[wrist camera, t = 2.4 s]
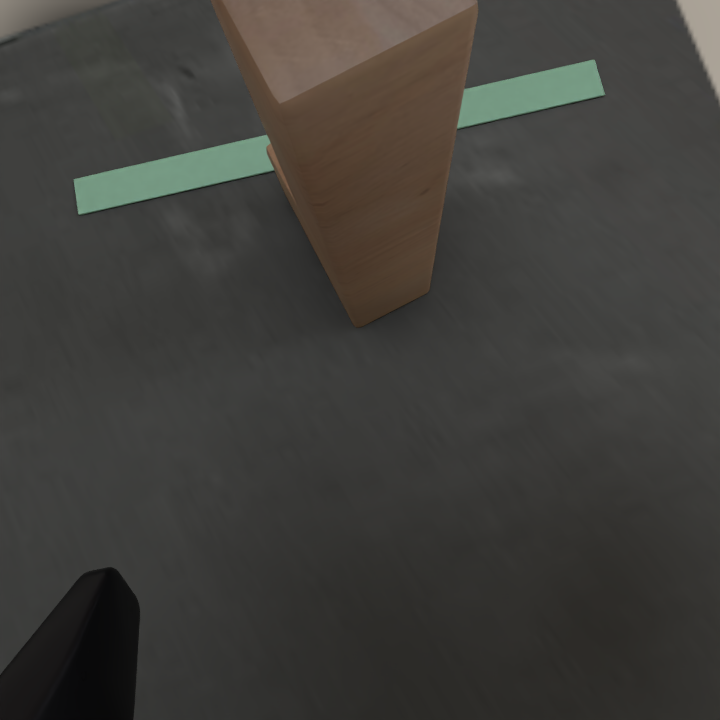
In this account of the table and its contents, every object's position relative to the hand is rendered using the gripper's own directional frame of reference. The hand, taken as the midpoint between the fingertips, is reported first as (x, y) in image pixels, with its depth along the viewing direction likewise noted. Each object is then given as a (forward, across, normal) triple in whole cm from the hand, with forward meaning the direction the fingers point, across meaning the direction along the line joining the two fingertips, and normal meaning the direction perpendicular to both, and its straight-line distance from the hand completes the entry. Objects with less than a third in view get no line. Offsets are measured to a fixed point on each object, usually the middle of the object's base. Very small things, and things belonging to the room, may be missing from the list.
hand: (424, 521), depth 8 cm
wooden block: (+16, 0, +3) cm, 17 cm away
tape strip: (+20, 0, 0) cm, 20 cm away
